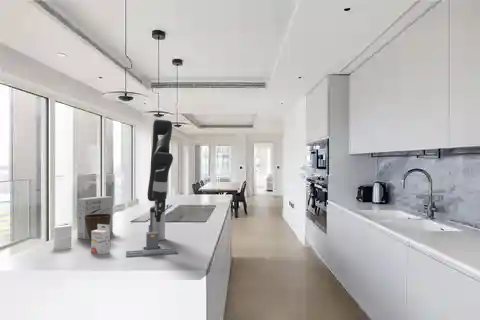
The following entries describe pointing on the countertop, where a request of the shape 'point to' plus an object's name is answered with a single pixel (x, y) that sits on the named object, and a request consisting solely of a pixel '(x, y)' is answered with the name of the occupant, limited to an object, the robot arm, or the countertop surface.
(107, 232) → the ink cartridge box
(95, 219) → the plant pot
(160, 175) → the robot arm
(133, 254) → the rail
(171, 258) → the countertop surface
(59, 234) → the white box
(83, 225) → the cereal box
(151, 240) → the module
